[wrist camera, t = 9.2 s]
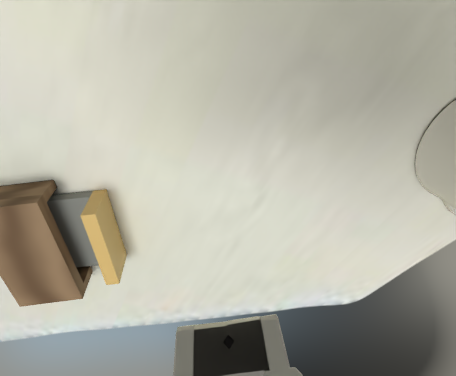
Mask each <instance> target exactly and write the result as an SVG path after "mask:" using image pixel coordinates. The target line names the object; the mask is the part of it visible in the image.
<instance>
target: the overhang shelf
mask: <svg viewBox="0 0 456 376" xmlns="http://www.w3.org/2000/svg"><path fill="white" fill-rule="evenodd" d="M56 188H57V187H56V184H55V182H54V180H48V181H40V182H32V183H23V184H15V185H7V186H0V276H1V278H2V279H3V281H4V282H5V284H6V285H7V287H8V289H9V290H10V292H11V293H12V295H13V296H14V298H15V300H16V301H17V303H18V304H19V306H28V305H36V304H44V303H52V302H60V301H68V300H75V299H83V296H84V293H85V291H86V288H87V285H88V282H89V280H90V277H91V274H92V269H91V266H85V267H76V266H75V264H74V261H73V259H72V257H71V255H70V253H69V250H68V248H67V246H66V244H65V242H64V240H63V237H62V235H61V233H60V231H59V229H58V226H57V224H56V222H55V220H54V218H53V216H52V213H51V211H50V209H49V207H48V205H47V201H48V200H49V198H50V197H51V195H52V194H53V193H54V191H55V190H56Z"/></svg>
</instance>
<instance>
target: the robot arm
mask: <svg viewBox="0 0 456 376" xmlns="http://www.w3.org/2000/svg"><path fill="white" fill-rule="evenodd" d="M415 168H416V174H417V177H418V180H419V182H420V183H421V185H422V186H423V187H424V188H425V189H426V190H427V191H428V192H430V193H432V194H434V195H435V196H437V197H439V198H441V199H442V200H443V203H444V204H445V206H446V208H447V209H448V210H449V211H450V212H452V213H453V214H455V215H456V100H455V101H453V102H452V103H451V104H449V105H448V106H447V107H446V108H445V109H444V110H443V111H442V112H441V113H440V114H439V115H438V116H437V117H436V118H435V119H434V121H433V122H432V123H431V124H430V126H429V127H428V129H427V130H426V132H425V134H424V135H423V137H422V139H421V142H420V144H419V147H418V150H417V154H416V161H415ZM173 376H303V375H302V374H301V373H300V372H299V371H298V370H297V369H296V368H294V367H293V368H290V366H289V362H288V358H287V353H286V350H285V345H284V341H283V337H282V332H281V328H280V324H279V320H278V317H277V315H276V314H275V315H268V316H261V317H259V316H257V317H250V318H243V319H236V320H229V321H226V322H217V323H208V324H199V325H190V326H182V327H178V328H177V332H176V342H175V357H174V372H173Z"/></svg>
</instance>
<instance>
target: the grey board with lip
mask: <svg viewBox="0 0 456 376" xmlns="http://www.w3.org/2000/svg"><path fill="white" fill-rule="evenodd" d="M47 205H48V207H49V209H50V211H51V213H52V216H53V218H54V220H55V222H56V224H57V226H58V229H59V231H60V233H61V235H62V237H63V240H64V242H65V244H66V246H67V248H68V250H69V253H70V255H71V257H72V259H73V261H74V264H75V266H76V267H85V266H95V265H99V267H100V269H101V272H102V274H103V277H104V280H105V282H106V285H110V284H119V283H120V279H121V275H122V271H123V267H124V264H125V260H126V256H127V254H126V251H125V248H124V245H123V241H122V238H121V235H120V232H119V229H118V225H117V222H116V219H115V216H114V212H113V209H112V206H111V203H110V200H109V196H108V193H107V190H106V189H105V190H96V191H86V192H76V193H67V194H57V195H51V197H50V198H49V200H48V201H47Z"/></svg>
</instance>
